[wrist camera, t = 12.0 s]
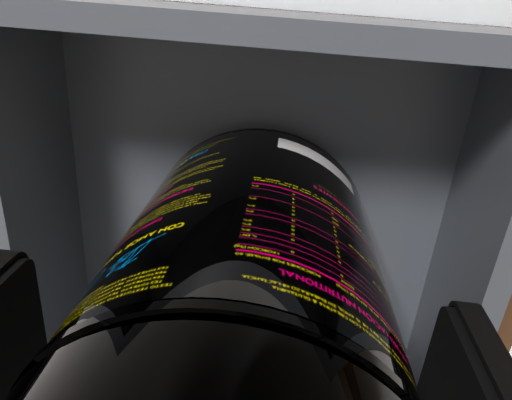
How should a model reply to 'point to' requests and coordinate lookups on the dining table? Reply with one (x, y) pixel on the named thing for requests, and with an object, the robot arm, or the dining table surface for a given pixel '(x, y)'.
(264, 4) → the dining table surface
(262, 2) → the dining table surface
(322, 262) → the supplement container
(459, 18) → the dining table surface
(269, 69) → the bin
